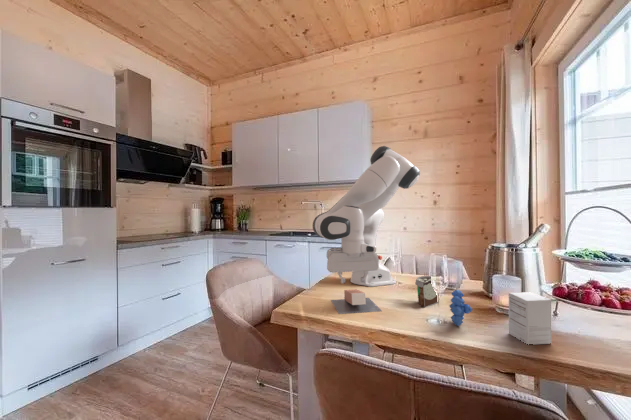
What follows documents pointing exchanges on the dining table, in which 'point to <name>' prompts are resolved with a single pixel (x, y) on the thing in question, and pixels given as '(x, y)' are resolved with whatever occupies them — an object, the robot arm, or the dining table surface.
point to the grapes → (458, 307)
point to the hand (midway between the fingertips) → (353, 282)
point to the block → (355, 297)
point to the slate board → (355, 307)
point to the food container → (425, 291)
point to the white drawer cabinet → (530, 318)
